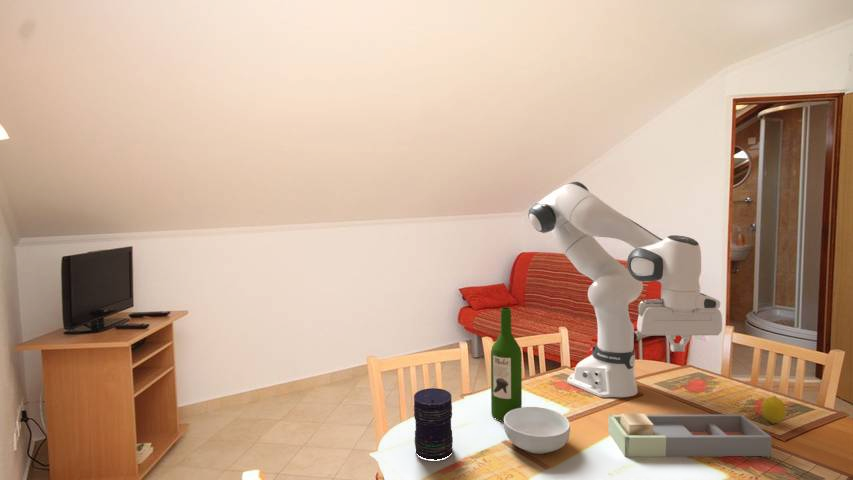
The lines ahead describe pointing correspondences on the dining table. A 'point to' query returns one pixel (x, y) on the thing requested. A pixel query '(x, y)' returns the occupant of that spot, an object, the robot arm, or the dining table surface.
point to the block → (636, 424)
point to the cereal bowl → (536, 429)
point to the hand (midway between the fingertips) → (677, 351)
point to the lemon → (773, 409)
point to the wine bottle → (505, 370)
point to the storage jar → (433, 423)
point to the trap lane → (694, 437)
